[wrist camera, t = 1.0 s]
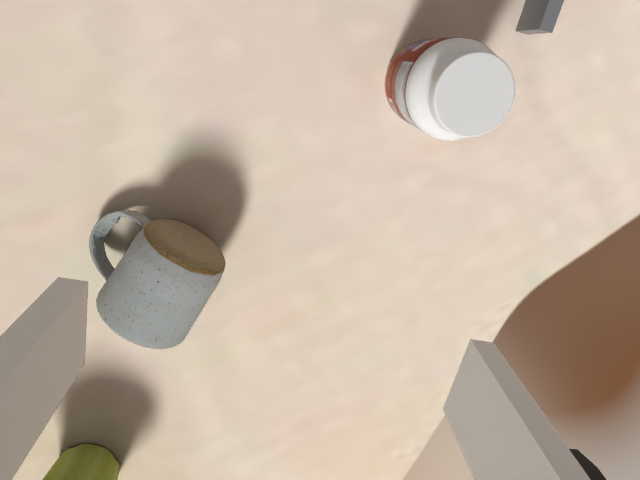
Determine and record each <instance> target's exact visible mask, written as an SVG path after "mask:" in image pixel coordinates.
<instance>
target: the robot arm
mask: <svg viewBox="0 0 640 480" xmlns="http://www.w3.org/2000/svg"><path fill="white" fill-rule="evenodd" d="M87 299H88V282H87V281H81V280H74V279H67V278H61V277H58V278H57V279H56V280H55V281H54V282H53V283H52V284H51V285H50V286H49V287H48V288H47V289H46V290H45V291H44V292H43V293H42V294H41V295H40V297H39V298H38V299H37V300H36V301H35V302H34V303H33V304H32V305H31V306H30V307H29V308H28V309H27V310H26V311H25V312H24V313H23V314H22V315H21V316H20V317H19V318H18V319H17V320H16V321H15V322H14V323H13V324H12V325H11V326H10V327H9V328H8V329H7V330H6V331H5V332H4V333H3V334H2V335H1V336H0V480H12V479H13V477H14V475H15V474H16V472H17V471H18V469H19V467H20V466H21V464H22V463H23V461H24V460H25V458H26V456H27V455H28V453H29V452H30V450H31V448H32V447H33V445H34V444H35V442H36V441H37V439H38V437H39V436H40V434H41V433H42V431H43V429H44V428H45V426H46V425H47V423H48V422H49V420H50V418H51V417H52V415H53V414H54V412H55V410H56V409H57V407H58V406H59V404H60V402H61V401H62V399H63V398H64V396H65V395H66V393H67V391H68V390H69V388H70V387H71V385H72V383H73V382H74V380H75V379H76V377H77V376H78V374H79V372H80V371H81V369H82V368H83V366H84V364H85V349H86V324H87ZM443 410H444V412H445V415H446V417H447V419H448V422H449V424H450V426H451V428H452V430H453V433H454V435H455V437H456V439H457V442H458V444H459V446H460V449H461V451H462V453H463V456H464V458H465V460H466V462H467V465H468V467H469V469H470V471H471V473H472V476H473V478H474V480H606V479H605V477H604V476H603V474H602V473H601V472H600V470H599V469H598V468H597V467H596V466H595V465H594V464H593V463H592V462H591V461H589V460H588V459H587V458H586V457H585V456H584V455H583V454H581V453H580V452H579V451H578V450H575V449H568V447H567V446H566V444H565V443H564V442H563V440H562V439H561V437H560V436H559V434H558V433H557V432H556V430H555V429H554V427H553V426H552V425H551V423H550V422H549V420H548V419H547V418H546V416H545V415H544V413H543V412H542V411H541V409H540V408H539V406H538V405H537V404H536V402H535V401H534V399H533V398H532V396H531V395H530V394H529V392H528V391H527V389H526V388H525V387H524V385H523V384H522V382H521V381H520V380H519V378H518V377H517V375H516V374H515V373H514V371H513V370H512V368H511V367H510V366H509V364H508V363H507V361H506V360H505V358H504V357H503V356H502V354H501V353H500V352H499V350H498V349H497V347H496V346H495V344H494V343H492V342H485V341H479V340H472V339H470V342H469V344H468V347H467V349H466V352H465V354H464V357H463V359H462V362H461V364H460V367H459V370H458V372H457V375H456V377H455V380H454V382H453V385H452V387H451V390H450V392H449V395H448V397H447V400H446V402H445V405H444V407H443Z"/></svg>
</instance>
